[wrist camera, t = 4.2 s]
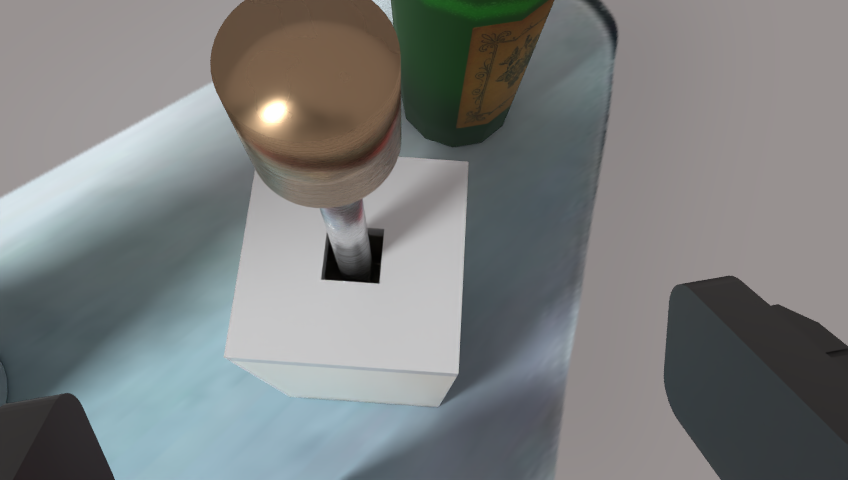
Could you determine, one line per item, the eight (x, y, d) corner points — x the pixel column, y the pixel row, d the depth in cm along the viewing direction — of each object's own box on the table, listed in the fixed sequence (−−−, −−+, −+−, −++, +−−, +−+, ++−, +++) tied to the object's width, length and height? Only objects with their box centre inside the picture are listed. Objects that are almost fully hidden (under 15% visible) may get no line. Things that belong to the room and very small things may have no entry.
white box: (289, 396, 44) (223, 357, 28) (308, 255, 47) (258, 146, 31) (438, 407, 44) (458, 373, 28) (446, 265, 47) (468, 161, 31)
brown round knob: (307, 312, 31) (194, 133, 14) (318, 227, 33) (227, -27, 16) (398, 319, 31) (392, 148, 14) (405, 233, 33) (407, -14, 16)
